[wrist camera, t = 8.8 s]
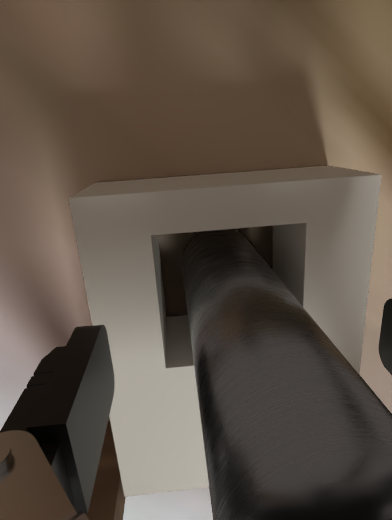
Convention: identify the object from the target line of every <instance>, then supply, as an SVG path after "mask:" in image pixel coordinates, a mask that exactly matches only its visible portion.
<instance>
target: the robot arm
mask: <svg viewBox="0 0 392 520" xmlns="http://www.w3.org/2000/svg"><path fill="white" fill-rule="evenodd" d="M379 354H380V358H381V361H382V363H383V365H384V367H385V368H386V369H387V370H388V371H389V372H390V374H391V375H392V299H389V300H387V301H386V303H385V305H384V310H383V317H382V325H381V333H380V341H379ZM114 386H115V381H114V370H113V364H112V359H111V353H110V347H109V341H108V335H107V330H106V327H105V326H104V325H94V326H83V327H76V328H75V329H74V331H73V333H72V335H71V337H70V339H69V341H68V343H67V345H66V346H64V347H56V348H55V349H54V350H52V351H51V352H50V353H49V354H48V355H47V356H45V357H44V358H43V359H42V360H41V362H40V363H39V365H38V367H37V369H36V370H35V372H34V376H32V377H31V379H30V381H29V382H28V384H27V389H24V391H23V393H22V395H21V396H20V398H19V400H18V401H17V403H16V405H15V407H14V408H13V410H12V412H11V414H10V415H9V417H8V419H7V420H6V422H5V424H4V426H3V427H2V429H1V431H0V520H89V519H88V517H87V516H86V514H88V510H89V506H90V501H91V497H92V492H93V487H94V483H95V478H96V474H97V469H98V465H99V460H100V455H101V451H102V446H103V442H104V437H105V433H106V428H107V423H108V419H109V414H110V410H111V405H112V401H113V396H114Z"/></svg>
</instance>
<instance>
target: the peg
mask: <svg viewBox="0 0 392 520" xmlns="http://www.w3.org/2000/svg"><path fill="white" fill-rule="evenodd" d="M182 273H183V281H184V289H185V297H186V305H187V313H188V321H189V329H190V337H191V345H192V353H193V361H194V369H195V377H196V385H197V393H198V401H199V409H200V417H201V425H202V433H203V441H204V449H205V457H206V465H207V473H208V481H209V489H210V497H211V505H212V513H213V520H392V414H391V412H390V411H389V410H388V409H387V408H386V406H385V405H384V404H383V403H382V402H381V400H380V399H379V398H378V397H377V396H376V394H375V393H374V392H373V391H372V390H371V388H370V387H369V386H368V385H367V384H366V382H365V381H364V380H363V379H362V377H361V376H360V375H359V374H358V373H357V371H356V370H355V369H354V368H353V367H352V365H351V364H350V363H349V362H348V361H347V359H346V358H345V357H344V356H343V355H342V353H341V352H340V351H339V350H338V349H337V347H336V346H335V345H334V344H333V342H332V341H331V340H330V339H329V338H328V336H327V335H326V334H325V333H324V332H323V330H322V329H321V328H320V327H319V326H318V324H317V323H316V322H315V321H314V320H313V318H312V317H311V316H310V315H309V313H308V312H307V311H306V310H305V309H304V307H303V306H302V305H301V304H300V303H299V301H298V300H297V299H296V298H295V297H294V295H293V294H292V293H291V292H290V291H289V289H288V288H287V287H286V286H285V285H284V283H283V282H282V281H281V280H280V278H279V277H278V276H277V275H276V274H275V272H274V271H273V270H272V269H271V268H270V266H269V265H268V264H267V263H266V262H265V260H264V259H263V258H262V257H261V256H260V254H259V253H258V252H257V251H256V249H255V248H254V247H253V246H252V245H251V243H250V242H249V241H248V240H247V239H246V238H245V237H244V236H243V235H242V234H241V233H240V232H238V231H236V230H234V229H224V230H212V231H201V232H199V233H198V234H196V235H195V236H194V237H193V238H192V239H191V240H190V241H189V242H188V244H187V245H186V247H185V249H184V252H183V255H182Z"/></svg>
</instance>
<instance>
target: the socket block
mask: <svg viewBox="0 0 392 520" xmlns="http://www.w3.org/2000/svg"><path fill="white" fill-rule="evenodd" d="M380 182H381V174H375V173H369V172H363V171H358V170H352V169H346V168H340V167H334V166H329V165H328V166H314V167H301V168H287V169H274V170H260V171H247V172H233V173H220V174H206V175H193V176H179V177H166V178H152V179H139V180H125V181H112V182H98V183H93V184H92V185H90V186H88V187H87V188H85V189H83V190H82V191H80V192H78V193H77V194H75V195H73V196H72V197H70V198H69V203H70V209H71V214H72V219H73V225H74V230H75V235H76V241H77V246H78V251H79V257H80V262H81V267H82V273H83V278H84V283H85V289H86V294H87V300H88V305H89V310H90V316H91V321H92V326H94V325H104V326H105V327H106V330H107V335H108V341H109V347H110V353H111V359H112V364H113V370H114V381H115V386H114V396H113V401H112V405H111V410H110V414H109V417H110V422H111V428H112V433H113V438H114V444H115V449H116V454H117V460H118V465H119V470H120V476H121V481H122V486H123V492H124V497H127V496H135V495H144V494H153V493H161V492H170V491H179V490H188V489H196V488H205V487H209V481H208V473H207V465H206V457H205V449H204V441H203V433H202V425H201V417H200V409H199V401H198V393H197V385H196V377H195V369H194V361H193V353H192V345H191V337H190V329H189V321H188V315H183V316H172V317H167V316H166V306H165V297H164V287H163V277H162V268H161V258H160V249H159V239H158V235H162V234H175V233H187V232H199V231H212V230H224V229H236V228H248V227H261V226H273V271H274V272H275V274H276V275H277V276H278V277H279V278H280V280H281V281H282V282H283V283H284V285H285V286H286V287H287V288H288V289H289V291H290V292H291V293H292V294H293V295H294V297H295V298H296V299H297V300H298V301H299V303H300V304H301V305H302V306H303V307H304V309H305V310H306V311H307V312H308V313H309V315H310V316H311V317H312V318H313V320H314V321H315V322H316V323H317V324H318V326H319V327H320V328H321V329H322V330H323V332H324V333H325V334H326V335H327V336H328V338H329V339H330V340H331V341H332V342H333V344H334V345H335V346H336V347H337V349H338V350H339V351H340V352H341V353H342V355H343V356H344V357H345V358H346V359H347V361H348V362H349V363H350V364H351V365H352V367H353V368H354V369H355V370H356V371H357V373H358V374H359V372H360V363H361V354H362V345H363V336H364V327H365V318H366V309H367V300H368V291H369V282H370V273H371V264H372V255H373V246H374V237H375V228H376V219H377V209H378V200H379V191H380Z"/></svg>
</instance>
